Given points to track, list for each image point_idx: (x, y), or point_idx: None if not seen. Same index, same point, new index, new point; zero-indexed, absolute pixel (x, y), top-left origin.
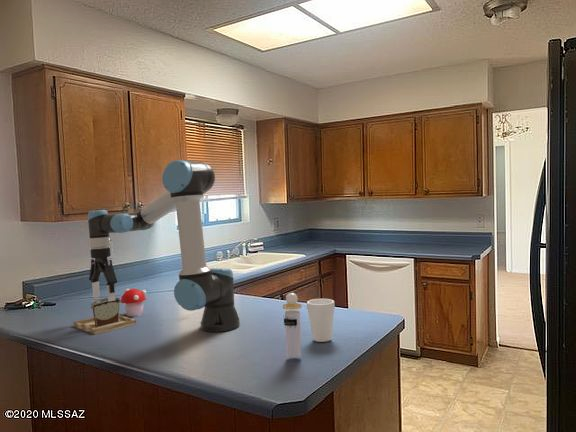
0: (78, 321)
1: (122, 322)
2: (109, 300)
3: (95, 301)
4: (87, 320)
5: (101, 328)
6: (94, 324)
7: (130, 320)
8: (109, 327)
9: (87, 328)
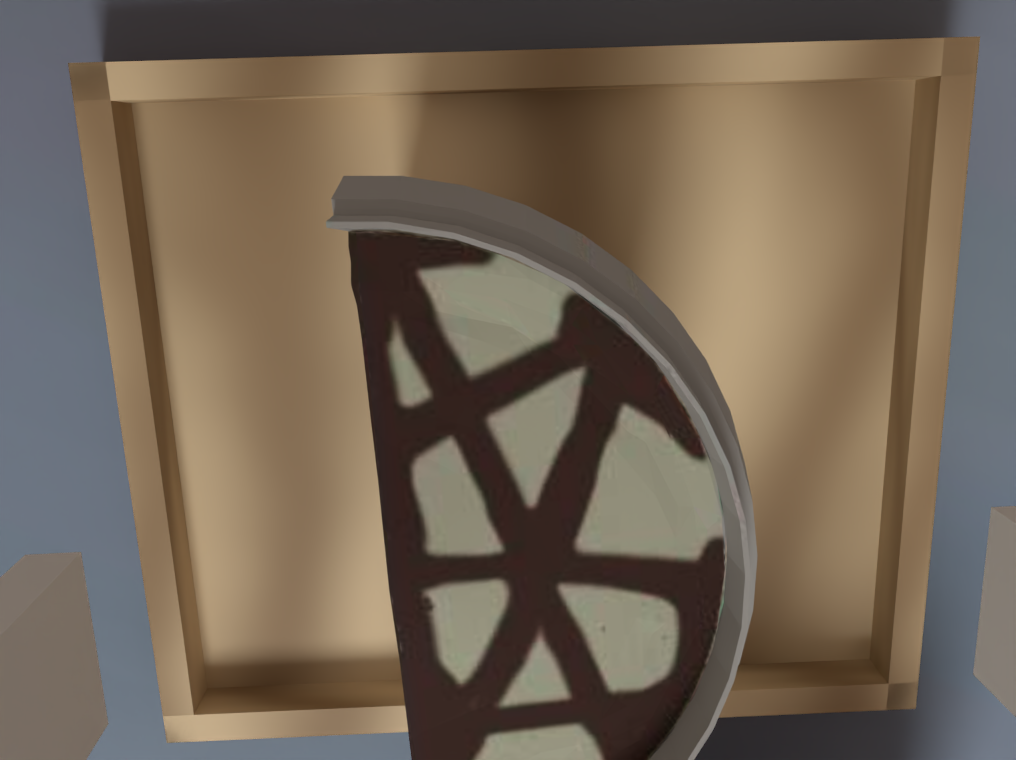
0: (935, 120)
1: (368, 606)
2: (13, 584)
3: (696, 425)
4: (911, 279)
5: (86, 186)
6: None
7: (279, 700)
8: (115, 323)
9: (371, 56)
